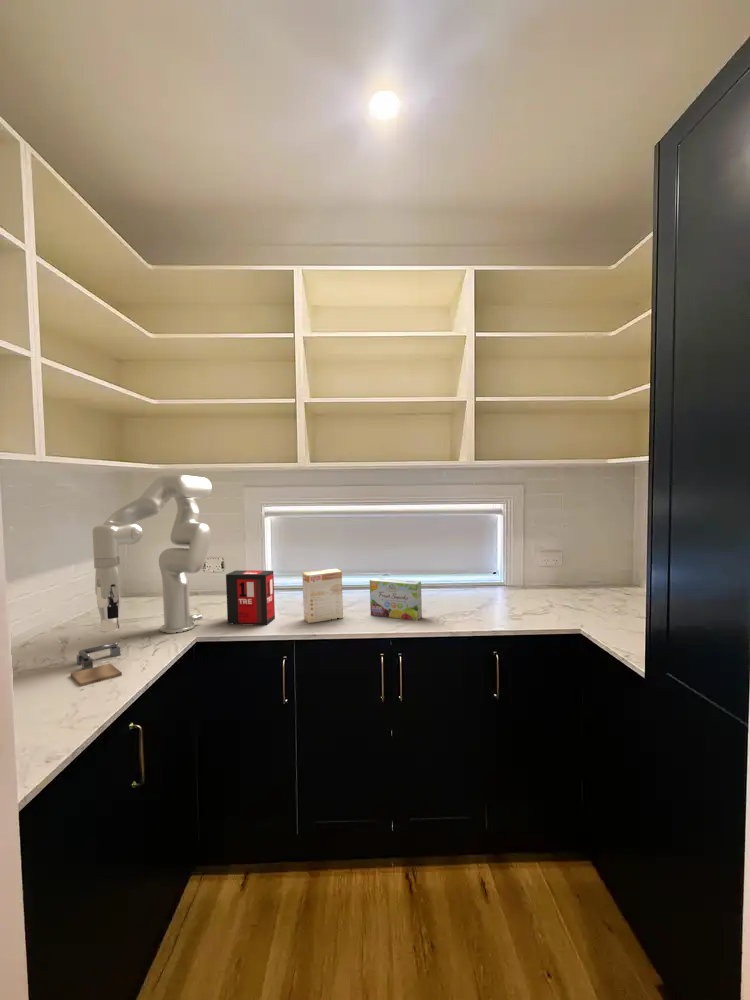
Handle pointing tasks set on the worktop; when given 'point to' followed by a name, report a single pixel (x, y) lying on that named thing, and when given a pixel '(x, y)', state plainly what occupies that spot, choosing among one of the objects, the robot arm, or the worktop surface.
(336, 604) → the coffeecake box
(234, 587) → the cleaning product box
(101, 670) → the walnut board
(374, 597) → the snack box
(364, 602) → the worktop surface
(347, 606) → the worktop surface
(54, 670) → the worktop surface
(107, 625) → the beer glass
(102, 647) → the grey metal bent rod
